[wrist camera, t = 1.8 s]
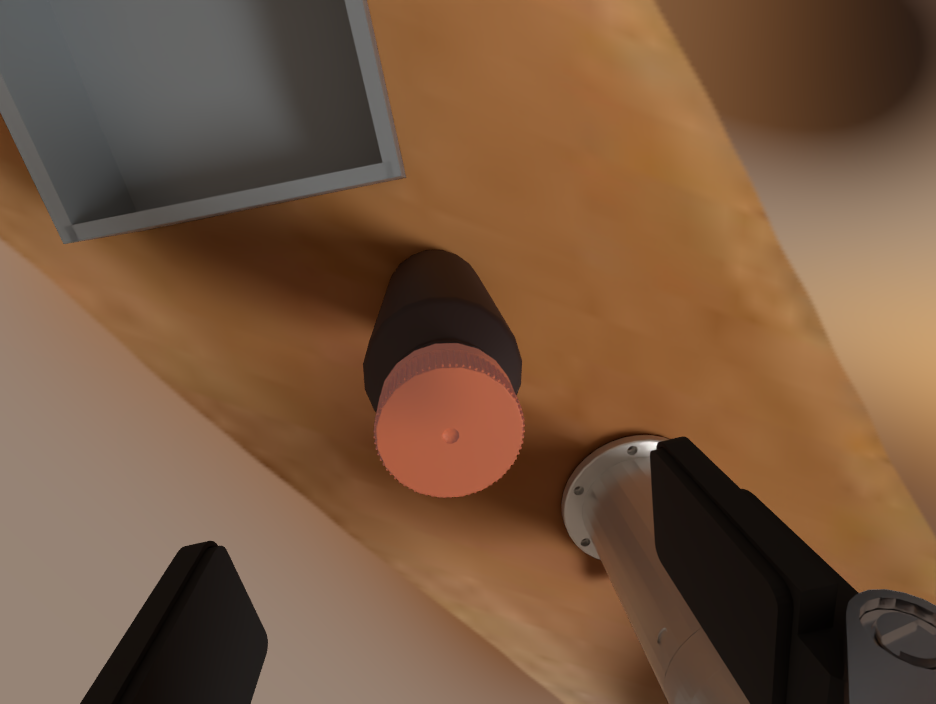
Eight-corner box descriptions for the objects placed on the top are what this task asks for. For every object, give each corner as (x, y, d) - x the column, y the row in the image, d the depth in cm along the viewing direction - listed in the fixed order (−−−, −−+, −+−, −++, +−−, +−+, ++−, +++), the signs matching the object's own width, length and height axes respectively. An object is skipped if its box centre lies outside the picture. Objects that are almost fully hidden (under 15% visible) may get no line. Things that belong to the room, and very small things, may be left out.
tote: (406, 177, 31) (401, 175, 25) (140, 231, 31) (63, 244, 24) (329, -171, 25) (295, -297, 18) (-3, -110, 25) (-158, -216, 18)
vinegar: (501, 295, 34) (595, 429, 16) (436, 359, 36) (451, 555, 17) (433, 227, 32) (449, 288, 14) (367, 297, 34) (296, 442, 15)
